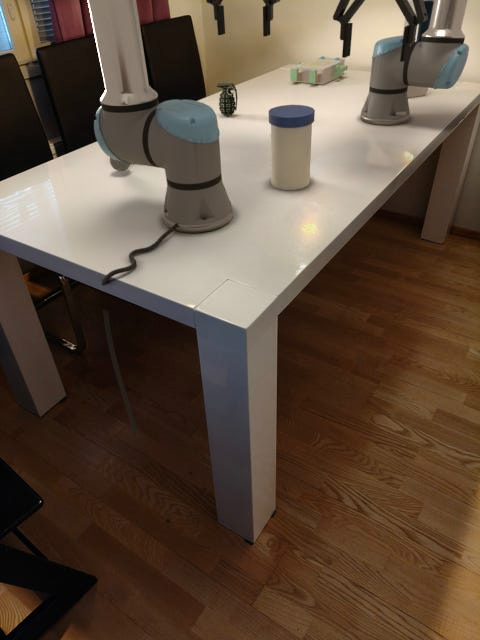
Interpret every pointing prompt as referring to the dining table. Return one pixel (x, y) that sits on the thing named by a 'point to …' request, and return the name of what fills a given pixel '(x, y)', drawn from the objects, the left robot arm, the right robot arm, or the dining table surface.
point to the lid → (291, 116)
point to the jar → (290, 157)
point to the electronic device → (422, 28)
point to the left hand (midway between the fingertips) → (243, 35)
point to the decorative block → (318, 70)
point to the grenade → (227, 99)
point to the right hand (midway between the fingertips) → (374, 58)
